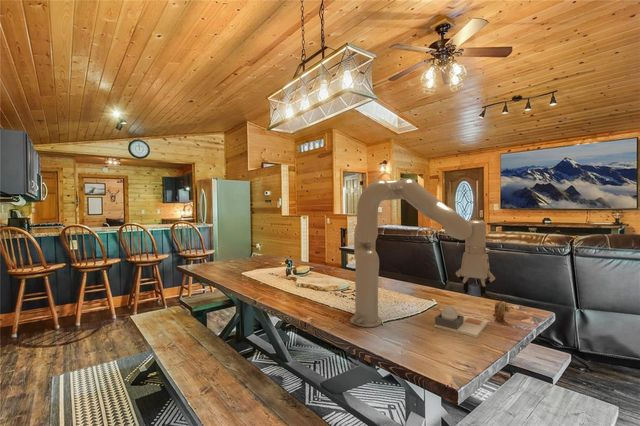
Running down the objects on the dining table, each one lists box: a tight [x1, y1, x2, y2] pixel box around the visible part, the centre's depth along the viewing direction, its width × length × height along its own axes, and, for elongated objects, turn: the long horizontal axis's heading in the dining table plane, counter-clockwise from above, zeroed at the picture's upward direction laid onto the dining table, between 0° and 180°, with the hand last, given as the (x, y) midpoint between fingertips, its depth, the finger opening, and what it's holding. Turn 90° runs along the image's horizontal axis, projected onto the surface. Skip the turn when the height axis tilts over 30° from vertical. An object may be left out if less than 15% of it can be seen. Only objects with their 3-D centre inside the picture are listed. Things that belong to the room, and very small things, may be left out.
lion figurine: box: [492, 300, 511, 322], centre depth 141 cm, size 15×5×9 cm, turn 164°
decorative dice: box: [467, 283, 481, 297], centre depth 134 cm, size 4×4×4 cm
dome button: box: [441, 305, 458, 321], centre depth 132 cm, size 6×6×6 cm
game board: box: [434, 311, 489, 338], centre depth 134 cm, size 18×16×4 cm
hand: (474, 293), depth 134 cm, fingers closed on decorative dice, 5 cm apart
